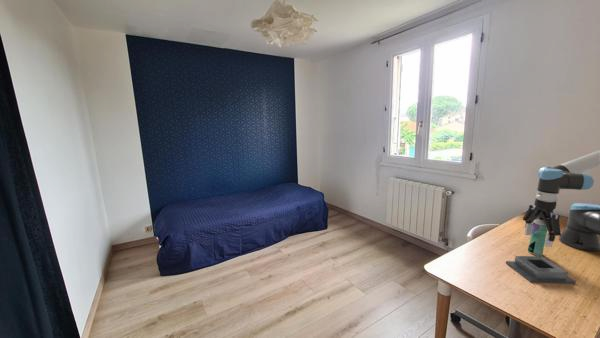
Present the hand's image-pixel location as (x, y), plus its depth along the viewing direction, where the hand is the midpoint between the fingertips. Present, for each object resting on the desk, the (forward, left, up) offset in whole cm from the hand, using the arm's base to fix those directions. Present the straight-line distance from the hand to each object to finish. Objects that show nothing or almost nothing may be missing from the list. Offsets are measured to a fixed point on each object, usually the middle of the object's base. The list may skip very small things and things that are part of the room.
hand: (537, 240), depth 125 cm
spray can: (0, 0, -7) cm, 7 cm away
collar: (+12, +17, -7) cm, 22 cm away
